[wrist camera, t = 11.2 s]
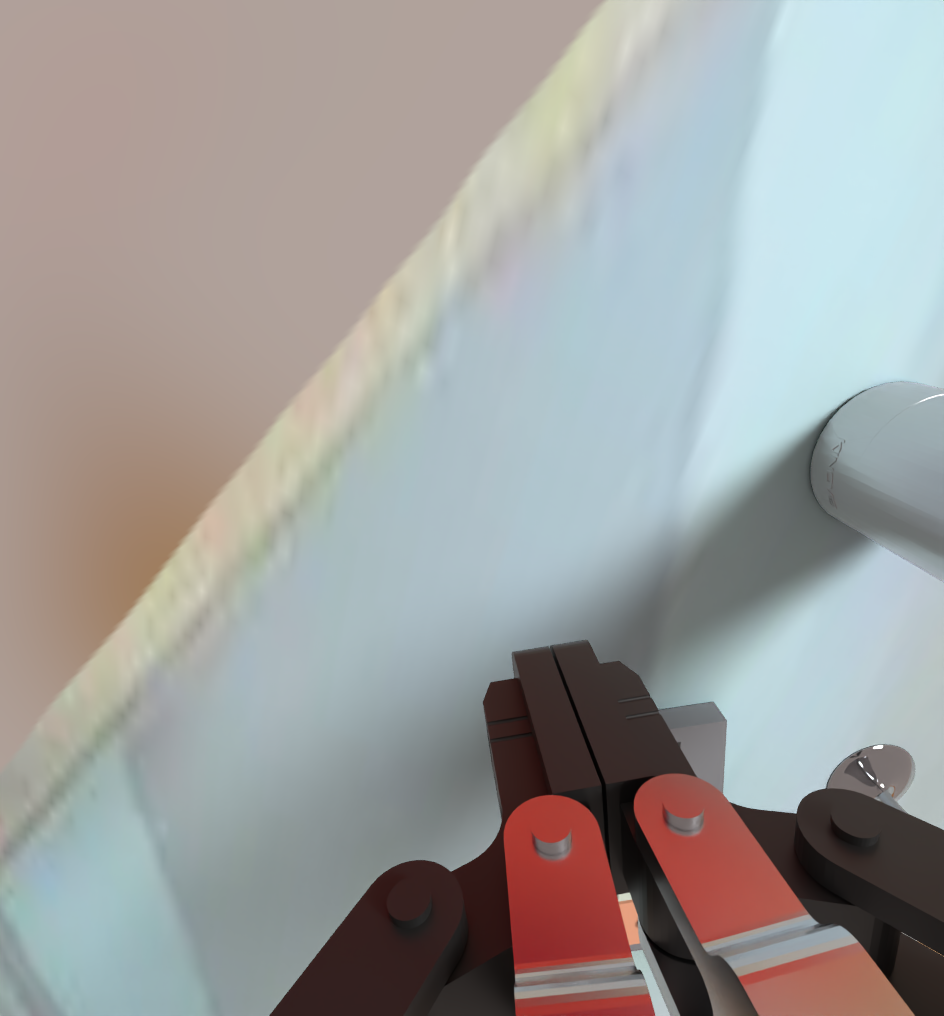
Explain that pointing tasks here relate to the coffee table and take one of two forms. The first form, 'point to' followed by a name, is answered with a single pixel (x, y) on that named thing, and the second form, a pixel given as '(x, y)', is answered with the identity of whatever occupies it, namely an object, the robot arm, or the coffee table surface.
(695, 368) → the coffee table surface
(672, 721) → the button board
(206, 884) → the coffee table surface
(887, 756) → the wine glass
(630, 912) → the terracotta button
